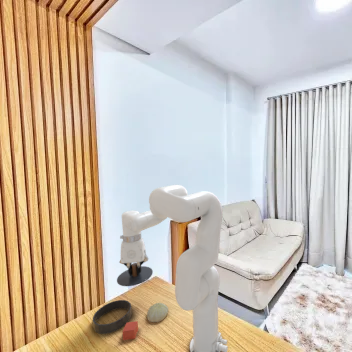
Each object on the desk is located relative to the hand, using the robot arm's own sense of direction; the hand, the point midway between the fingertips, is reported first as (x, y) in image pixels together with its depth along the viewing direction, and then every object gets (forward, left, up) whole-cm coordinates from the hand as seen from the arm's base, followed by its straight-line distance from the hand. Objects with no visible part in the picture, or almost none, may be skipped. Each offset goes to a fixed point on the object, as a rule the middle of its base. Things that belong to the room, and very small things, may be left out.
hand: (135, 273), depth 98 cm
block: (-10, +13, -17) cm, 24 cm away
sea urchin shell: (-14, +1, -17) cm, 22 cm away
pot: (+3, +10, -17) cm, 20 cm away
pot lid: (0, 0, -1) cm, 1 cm away
